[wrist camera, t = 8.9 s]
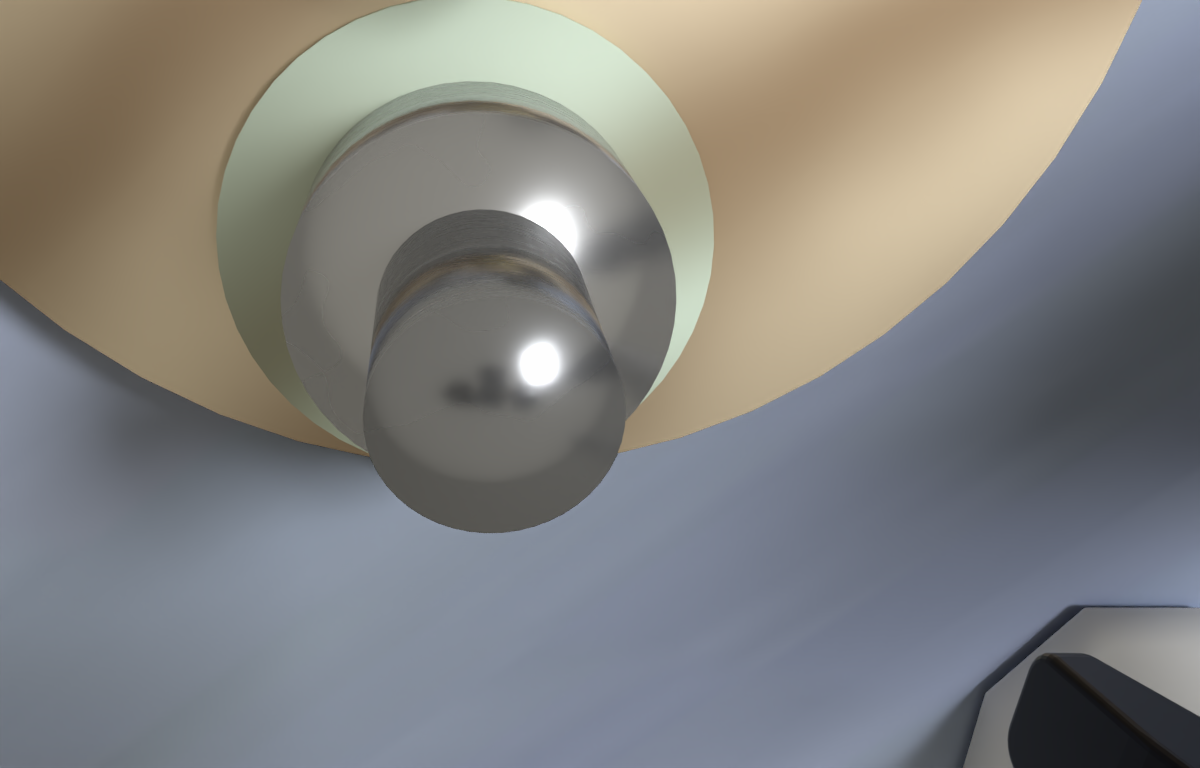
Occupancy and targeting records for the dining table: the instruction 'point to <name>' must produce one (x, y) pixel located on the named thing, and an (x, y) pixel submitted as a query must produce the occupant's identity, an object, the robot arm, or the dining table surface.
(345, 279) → the silver metal knob
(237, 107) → the carrier plate
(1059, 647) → the flask
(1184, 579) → the dining table surface
